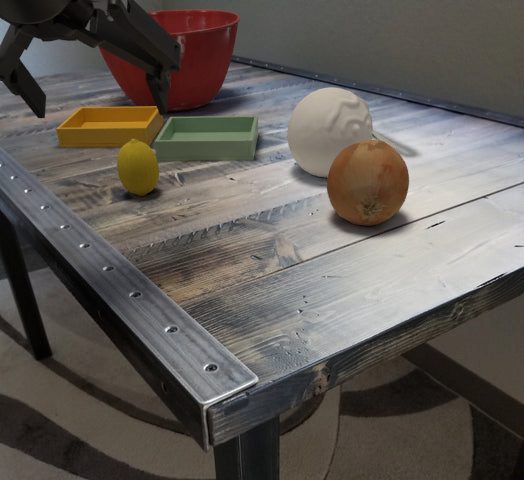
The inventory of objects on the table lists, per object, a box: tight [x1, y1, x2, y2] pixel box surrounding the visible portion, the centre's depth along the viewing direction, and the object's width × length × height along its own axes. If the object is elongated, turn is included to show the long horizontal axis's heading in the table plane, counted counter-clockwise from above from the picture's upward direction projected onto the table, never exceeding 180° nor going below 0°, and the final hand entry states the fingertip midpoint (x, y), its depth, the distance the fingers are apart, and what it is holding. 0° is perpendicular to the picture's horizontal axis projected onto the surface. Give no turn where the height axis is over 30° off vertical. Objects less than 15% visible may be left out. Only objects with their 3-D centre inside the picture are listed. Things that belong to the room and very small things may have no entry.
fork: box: [372, 129, 399, 149], centre depth 99 cm, size 3×24×2 cm, turn 21°
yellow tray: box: [55, 105, 165, 148], centre depth 102 cm, size 15×13×4 cm
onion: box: [326, 139, 410, 227], centre depth 70 cm, size 10×10×10 cm
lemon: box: [116, 139, 160, 197], centre depth 78 cm, size 6×6×8 cm
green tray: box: [154, 115, 259, 162], centre depth 95 cm, size 15×13×4 cm
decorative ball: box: [286, 86, 374, 179], centre depth 82 cm, size 12×12×12 cm
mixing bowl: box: [88, 8, 241, 113], centre depth 115 cm, size 28×28×15 cm
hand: (102, 105), depth 64 cm, fingers open, 13 cm apart
